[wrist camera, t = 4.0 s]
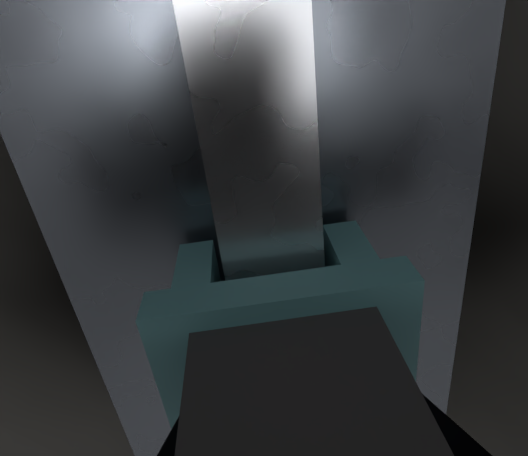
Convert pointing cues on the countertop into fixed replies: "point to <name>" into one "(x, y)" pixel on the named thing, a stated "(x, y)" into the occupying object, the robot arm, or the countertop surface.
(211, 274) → the carriage
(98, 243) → the rail base
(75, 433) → the countertop surface
